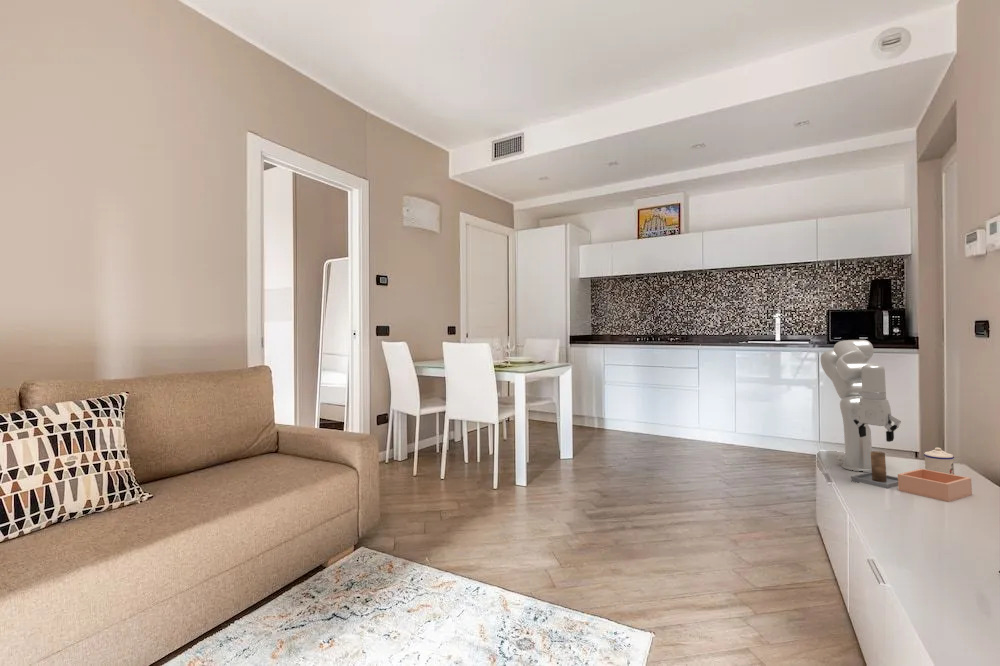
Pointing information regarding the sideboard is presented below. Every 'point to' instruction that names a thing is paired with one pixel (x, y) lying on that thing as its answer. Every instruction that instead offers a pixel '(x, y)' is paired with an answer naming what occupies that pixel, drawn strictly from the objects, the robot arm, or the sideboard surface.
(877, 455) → the walnut dowel
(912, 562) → the sideboard surface
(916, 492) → the terracotta open box
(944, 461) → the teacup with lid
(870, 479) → the grey tray
